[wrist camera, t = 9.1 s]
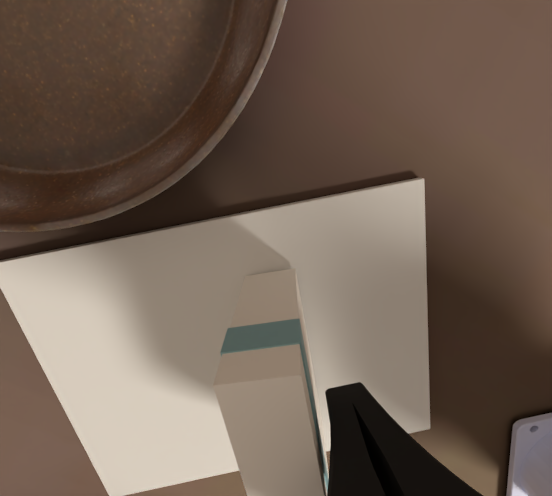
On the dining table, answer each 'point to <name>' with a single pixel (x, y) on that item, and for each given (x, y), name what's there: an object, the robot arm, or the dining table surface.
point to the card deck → (272, 391)
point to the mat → (223, 323)
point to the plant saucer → (118, 99)
